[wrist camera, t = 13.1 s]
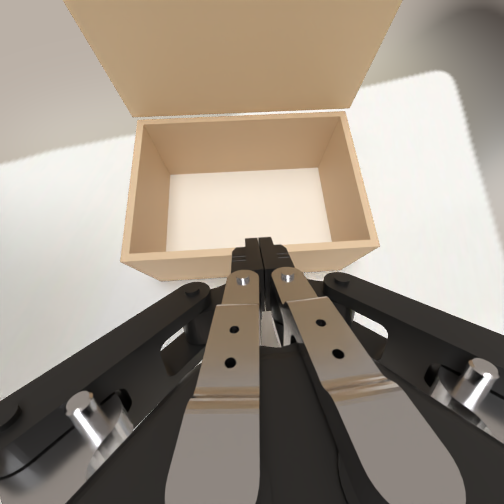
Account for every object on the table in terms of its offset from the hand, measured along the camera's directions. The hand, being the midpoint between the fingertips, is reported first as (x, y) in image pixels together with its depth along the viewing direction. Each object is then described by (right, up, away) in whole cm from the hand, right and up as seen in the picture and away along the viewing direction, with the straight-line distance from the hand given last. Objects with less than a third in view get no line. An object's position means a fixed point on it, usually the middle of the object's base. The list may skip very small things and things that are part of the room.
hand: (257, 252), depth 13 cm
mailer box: (-1, +4, +14) cm, 15 cm away
